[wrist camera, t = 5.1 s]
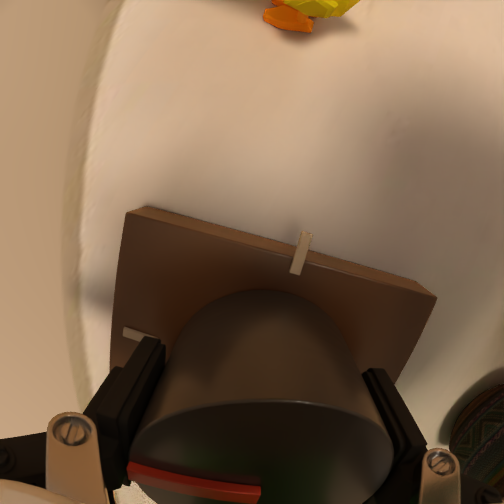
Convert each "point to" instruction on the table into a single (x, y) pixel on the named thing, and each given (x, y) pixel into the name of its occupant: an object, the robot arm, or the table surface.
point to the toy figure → (304, 12)
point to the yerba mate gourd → (482, 439)
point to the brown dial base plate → (255, 287)
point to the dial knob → (260, 411)
